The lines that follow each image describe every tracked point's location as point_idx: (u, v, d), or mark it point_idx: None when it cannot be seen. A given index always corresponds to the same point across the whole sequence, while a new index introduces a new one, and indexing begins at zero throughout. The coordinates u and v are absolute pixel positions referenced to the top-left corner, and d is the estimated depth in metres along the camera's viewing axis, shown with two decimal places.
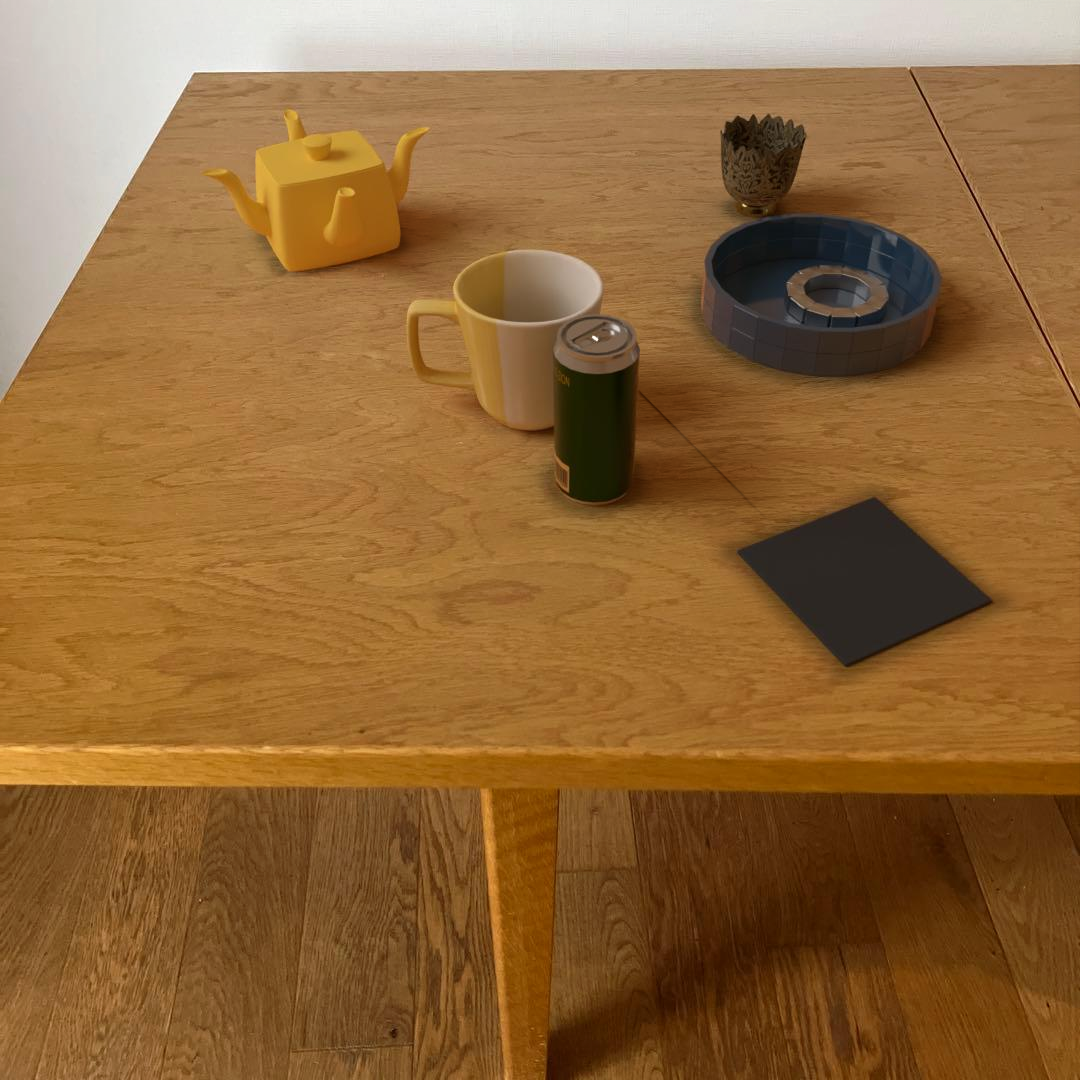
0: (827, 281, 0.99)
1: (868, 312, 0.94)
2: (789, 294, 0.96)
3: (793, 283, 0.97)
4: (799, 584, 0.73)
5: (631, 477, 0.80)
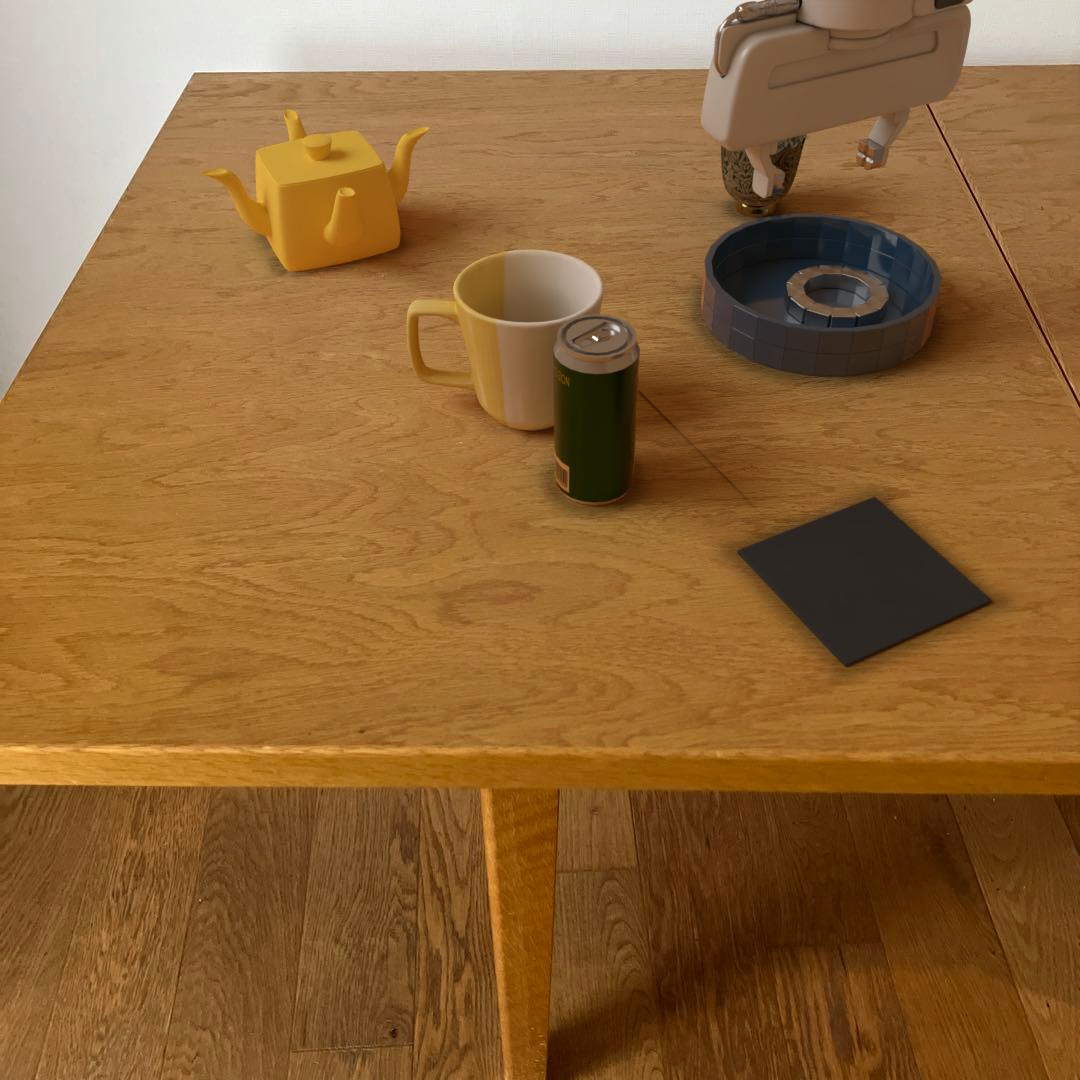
0: (827, 281, 0.99)
1: (868, 312, 0.94)
2: (789, 294, 0.96)
3: (793, 283, 0.97)
4: (799, 584, 0.73)
5: (631, 477, 0.80)
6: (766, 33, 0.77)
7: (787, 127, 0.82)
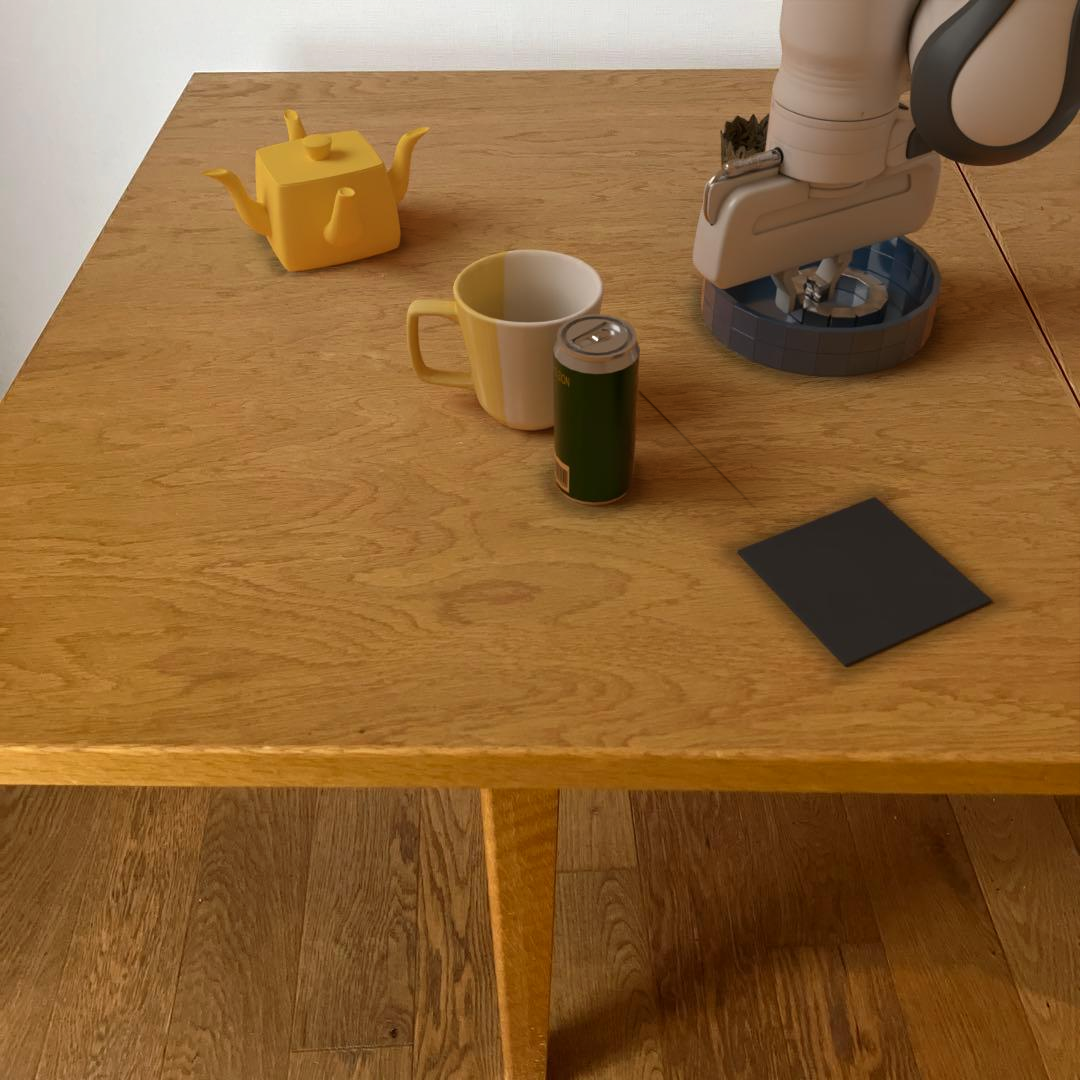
0: None
1: (868, 312, 0.94)
2: None
3: None
4: (799, 584, 0.73)
5: (631, 477, 0.80)
6: (751, 186, 0.84)
7: (772, 265, 0.89)
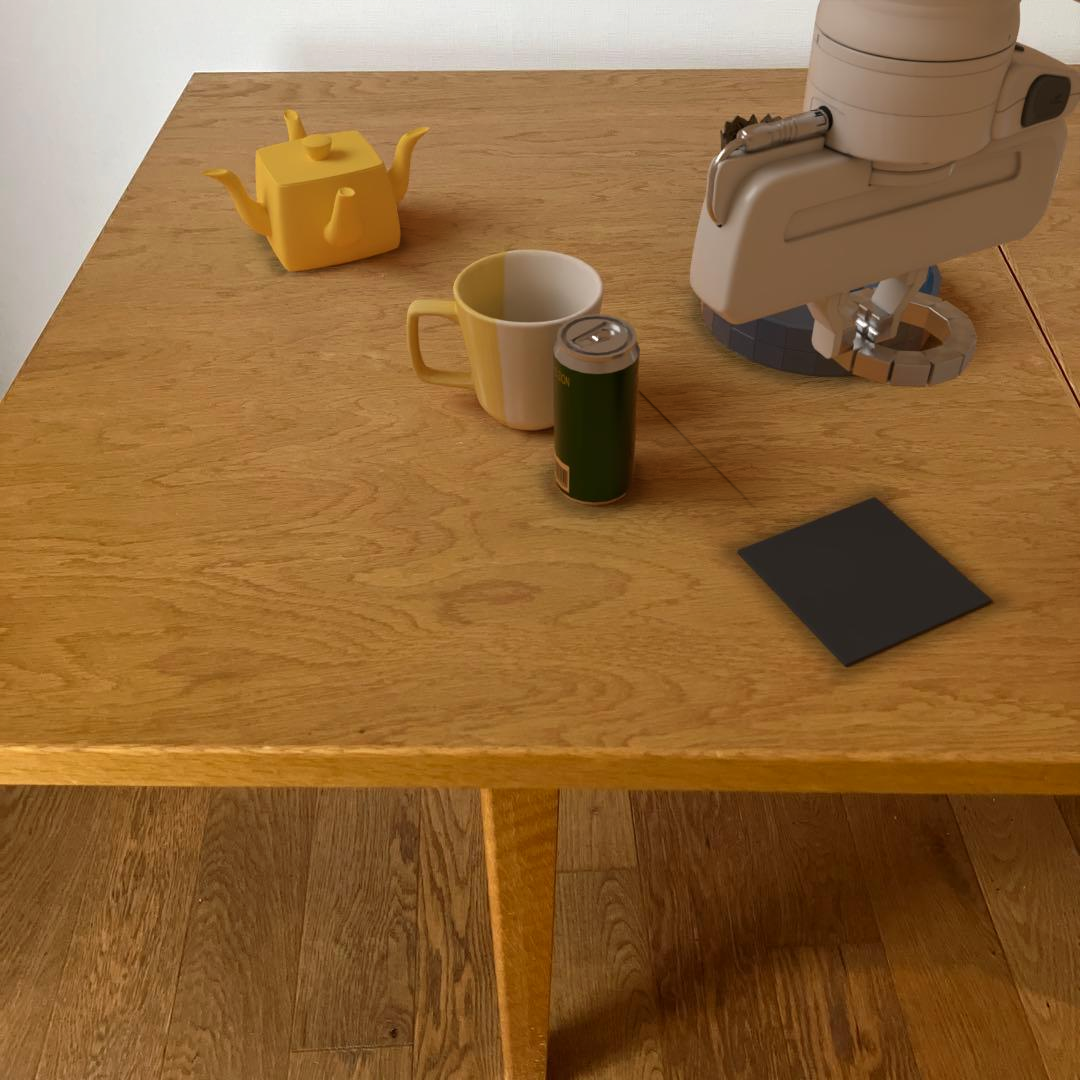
0: None
1: (948, 359, 0.63)
2: None
3: None
4: (799, 584, 0.73)
5: (631, 477, 0.80)
6: (782, 167, 0.54)
7: (810, 289, 0.58)
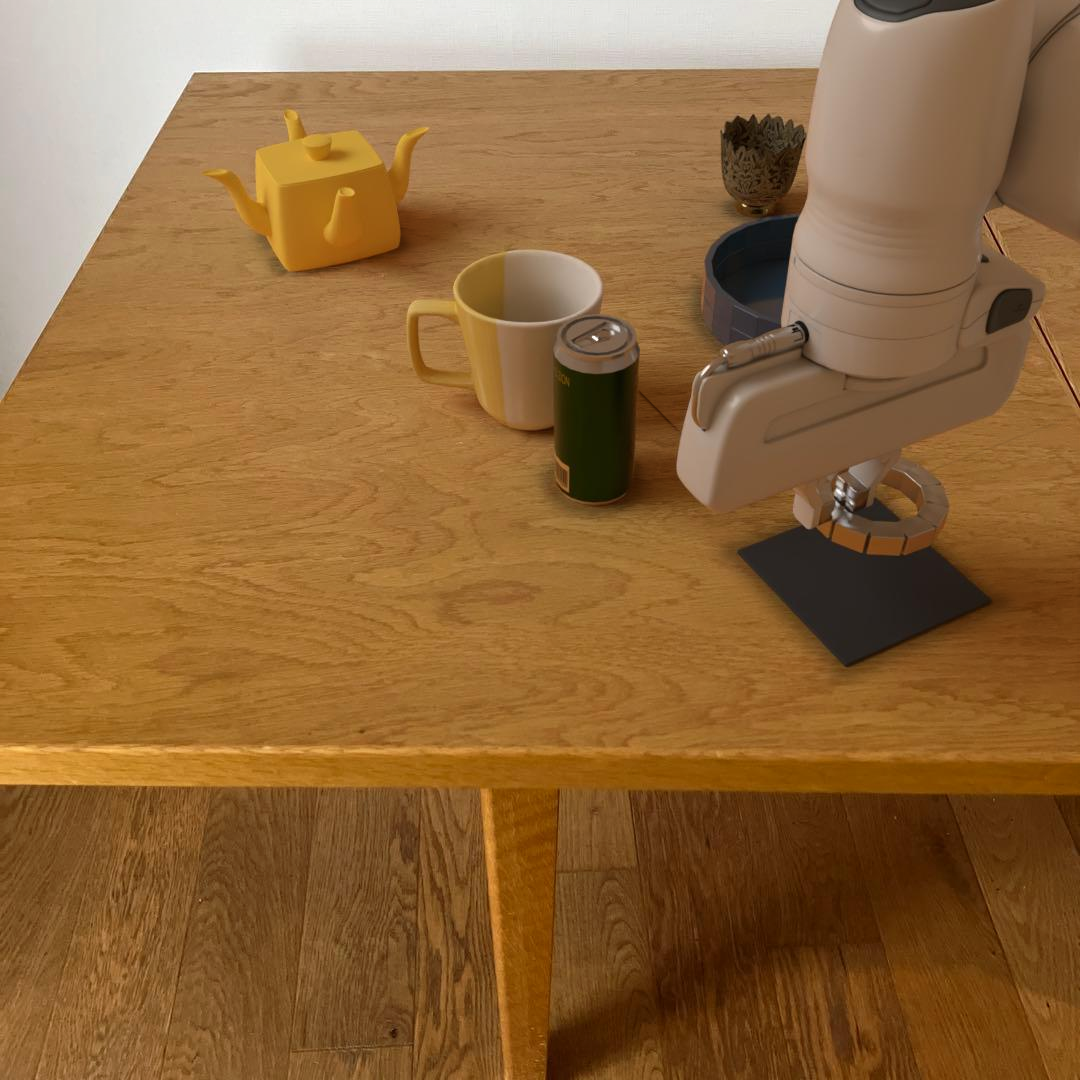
0: None
1: (921, 531, 0.67)
2: None
3: None
4: (799, 584, 0.73)
5: (631, 477, 0.80)
6: (761, 380, 0.57)
7: (790, 479, 0.62)
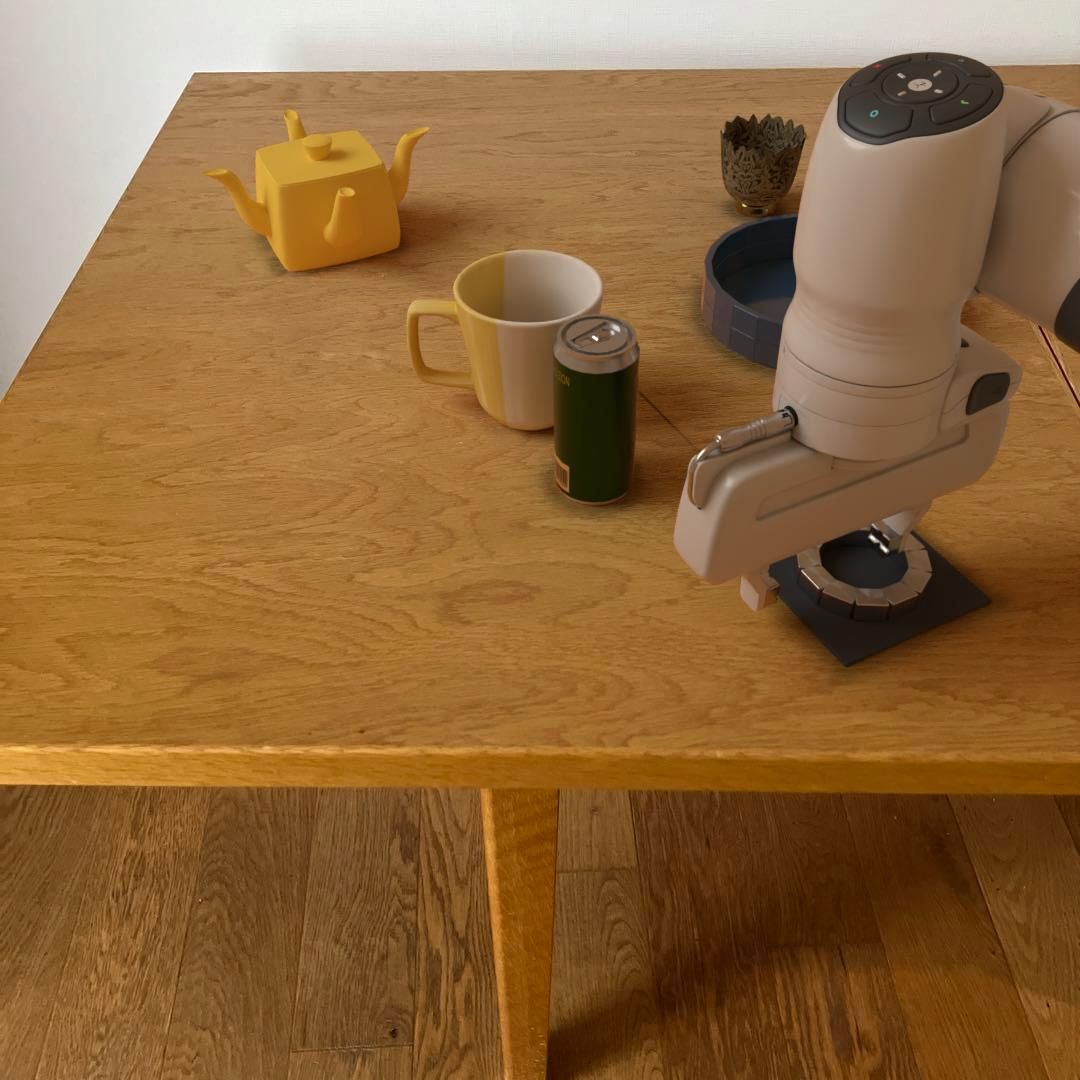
0: (850, 538, 0.76)
1: (905, 597, 0.71)
2: (800, 564, 0.73)
3: None
4: None
5: (631, 477, 0.80)
6: (753, 463, 0.61)
7: (781, 551, 0.65)
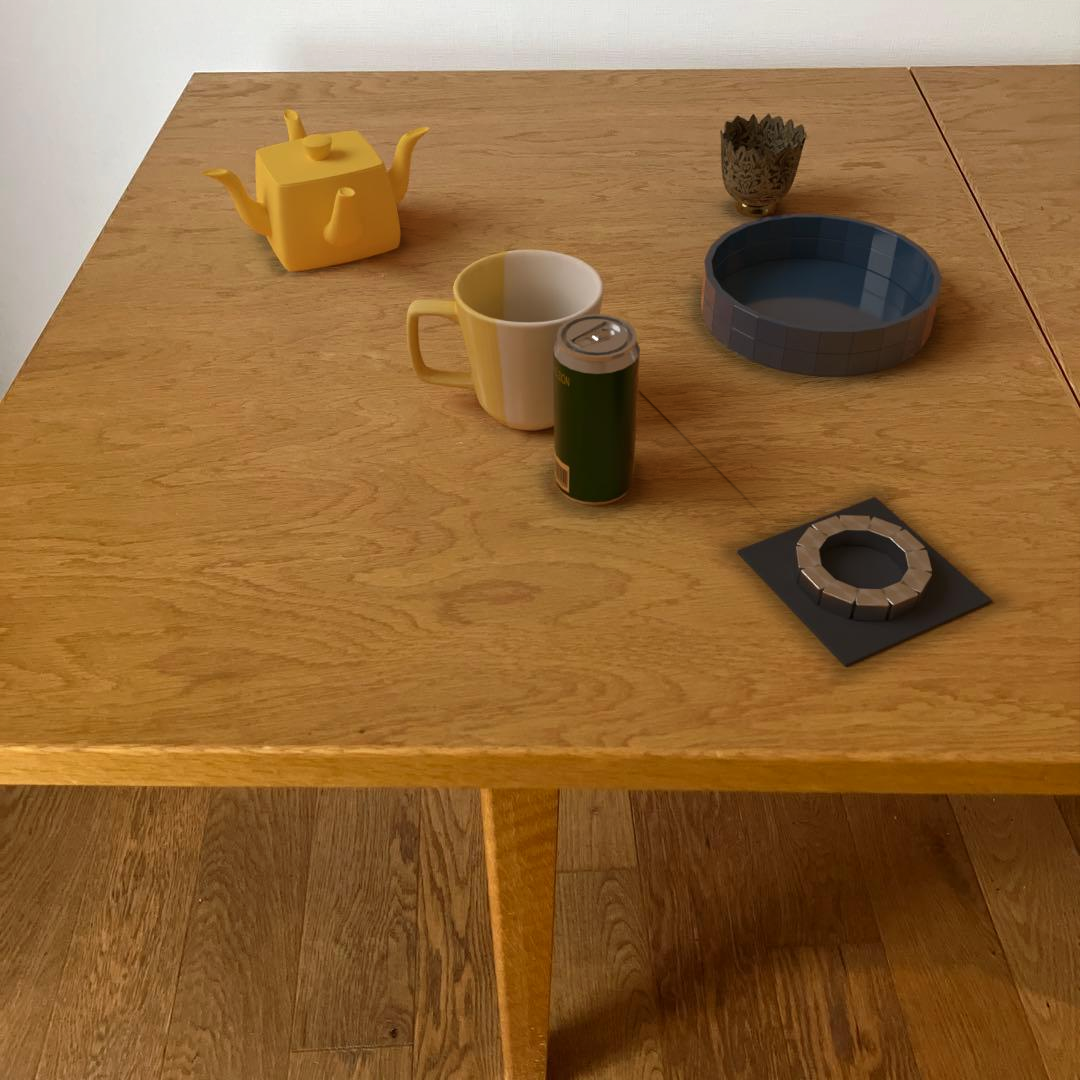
0: (850, 538, 0.76)
1: (905, 597, 0.71)
2: (800, 564, 0.73)
3: (805, 546, 0.74)
4: None
5: (631, 477, 0.80)
6: None
7: None
